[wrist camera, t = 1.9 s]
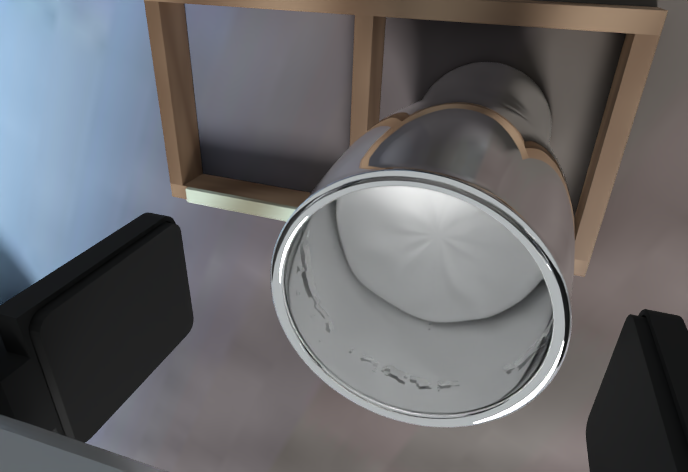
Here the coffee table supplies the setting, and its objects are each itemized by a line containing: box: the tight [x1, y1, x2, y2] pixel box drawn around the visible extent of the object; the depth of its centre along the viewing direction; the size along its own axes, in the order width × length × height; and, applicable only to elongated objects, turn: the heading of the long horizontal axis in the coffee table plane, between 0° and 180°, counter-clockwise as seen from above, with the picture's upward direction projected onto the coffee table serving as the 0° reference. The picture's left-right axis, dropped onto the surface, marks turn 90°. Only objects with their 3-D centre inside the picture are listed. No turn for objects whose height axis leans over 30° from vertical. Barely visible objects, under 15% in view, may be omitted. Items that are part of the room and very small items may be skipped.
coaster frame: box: [144, 0, 668, 277], centre depth 24 cm, size 22×11×2 cm, turn 89°
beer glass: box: [270, 62, 575, 428], centre depth 17 cm, size 7×7×15 cm
